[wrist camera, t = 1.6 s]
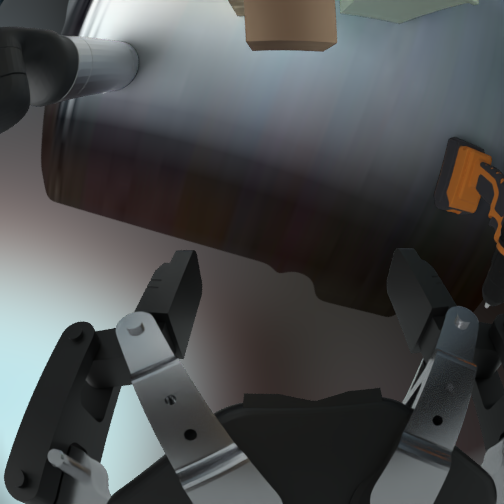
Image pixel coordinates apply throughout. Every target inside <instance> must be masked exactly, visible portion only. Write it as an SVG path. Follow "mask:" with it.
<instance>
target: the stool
mask: <svg viewBox="0 0 504 504" xmlns="http://www.w3.org/2000/svg"><path fill="white" fill-rule="evenodd" d="M228 1H229V3H230V4H231V6H232V8H233V9H234V11H235V13H236V14H237V16H245V13H244V0H228Z"/></svg>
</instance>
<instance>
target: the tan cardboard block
mask: <svg viewBox="0 0 504 504" xmlns="http://www.w3.org/2000/svg"><path fill="white" fill-rule="evenodd" d="M244 13H245V32H246V42H247V44H248V45H249V47H250V48H251V49H252V51H260V50H302V51H322V52H323V51H325V50H326V49H328V48H330V47H331V46H333V45H335V44H336V43H337V29H336V12H335V0H244Z"/></svg>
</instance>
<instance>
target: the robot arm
mask: <svg viewBox="0 0 504 504" xmlns="http://www.w3.org/2000/svg"><path fill="white" fill-rule="evenodd" d="M138 62H139V60H138V55H137V52H136V50H135V49H134V48H133V47H132V46H131V45H130V44H128V43H125V42H120V41H113V40H106V39H98V38H89V37H78V36H60V35H59V34H57V33H56V32H54V31H51V30H46V29H35V28H25V27H0V134H1V133H3V132H4V131H6V130H8V129H9V128H11V127H12V126H14V125H15V124H16V123H18V122H19V121H20V120H21V119H22V118H23V117H24V116H25V114H26V113H27V111H28V109H29V106H30V105H31V106H36V107H41V106H46V105H50V104H53V103H57V102H61V101H65V100H69V99H73V98H78V97H83V96H88V95H93V94H99V93H105V92H111V91H116V90H120V89H122V88H124V87H125V86H127V85H128V84H129V83H130V82H131V81H132V80H133V78H134V77H135V75H136V72H137V69H138ZM387 292H388V295H389V297H390V300H391V302H392V305H393V307H394V310H395V312H396V315H397V317H398V320H399V322H400V325H401V328H402V330H403V333H404V336H405V338H406V341H407V344H408V347H409V350H410V352H411V353H418V352H421V353H422V355H423V360H422V362H421V364H420V366H419V368H418V371H417V373H416V375H415V378H414V380H413V382H412V384H411V386H410V389H409V391H408V393H407V395H406V397H405V399H404V401H403V402H402V403H401V402H399V401H396V400H393V399H389V398H384V397H382V395H381V390H380V388H375V389H366V390H357V391H348V392H345V393H342V394H338V395H335V396H332V397H328V398H325V399H322V400H318V401H310V400H305V399H300V398H294V397H290V396H285V395H280V394H244V401H243V403H239V404H235V405H232V406H229V407H226V408H224V409H221V410H219V411H218V412H216V413H213V412H212V410H211V409H210V408H209V406H208V405H207V403H206V402H205V400H204V399H203V397H202V396H201V394H200V393H199V391H198V389H197V388H196V386H195V385H194V383H193V381H192V380H191V378H190V377H189V375H188V373H187V372H186V370H185V369H184V367H183V365H182V363H181V362H180V360H179V359H184V356H185V352H186V348H187V345H188V341H189V338H190V334H191V331H192V327H193V323H194V320H195V317H196V313H197V309H198V306H199V302H200V299H201V295H202V280H201V275H200V270H199V264H198V259H197V254H196V251H194V250H183V251H176V252H175V254H174V256H173V258H172V260H171V262H170V263H164V264H162V265H161V266H160V267H159V268H158V269H157V270H156V271H155V272H154V274H153V276H152V278H151V281H150V282H149V284H148V286H147V288H146V290H145V292H144V294H143V296H142V298H141V300H140V302H139V304H138V306H137V308H136V310H135V312H133V313H131V314H128V315H126V316H125V317H123V318H122V319H121V320H120V321H119V322H118V324H117V326H116V328H113V329H108V330H102V331H95V330H94V328H93V326H92V325H91V324H90V323H88V322H77V323H74V324H72V325H70V326H69V327H68V328H66V329H65V331H64V332H63V333H62V335H61V337H60V339H59V341H58V343H57V345H56V346H55V349H54V350H53V352H52V354H51V356H50V358H49V361H48V362H47V365H46V366H45V369H44V371H43V373H42V375H41V377H40V379H39V381H38V384H37V386H36V388H35V390H34V393H33V395H32V397H31V399H30V402H29V405H28V407H27V409H26V411H25V414H24V416H23V419H22V422H21V424H20V427H19V430H18V432H17V435H16V438H15V441H14V444H13V447H12V450H11V453H10V456H9V459H8V462H7V466H6V469H5V474H4V481H5V485H6V488H7V490H8V492H9V493H10V494H11V495H12V497H14V498H15V499H16V500H19V501H21V502H23V503H25V504H504V388H503V385H502V382H501V380H500V377H499V374H498V372H497V369H498V368H499V366H500V365H501V364H502V365H503V368H504V314H500V315H498V316H497V317H496V319H495V320H494V322H493V324H488V323H482V322H478V319H477V317H476V316H475V315H474V314H473V313H472V312H471V311H470V310H468V309H466V308H464V307H460V306H456V304H455V302H454V301H453V299H452V297H451V296H450V294H449V292H448V291H447V289H446V287H445V286H444V284H442V281H441V279H440V278H439V277H438V275H437V273H436V271H435V270H434V268H433V267H432V266H431V265H429V264H428V263H427V262H426V261H424V260H421V259H420V257H419V256H418V254H417V253H416V251H415V250H414V249H413V248H397V249H396V250H395V251H394V254H393V259H392V263H391V267H390V271H389V275H388V278H387ZM131 384H133V386H134V389H135V391H136V394H137V396H138V398H139V400H140V403H141V405H142V407H143V409H144V412H145V414H146V416H147V418H148V420H149V422H150V424H151V426H152V428H153V430H154V433H155V435H156V437H157V439H158V440H159V442H160V444H161V446H162V448H163V450H164V452H165V455H164V456H163V457H161V458H160V459H159V460H158V461H156V462H155V463H154V464H153V465H151V466H150V467H149V468H147V469H146V470H145V471H144V472H142V473H141V474H140V475H138V476H137V477H136V478H134V480H132V481H130V482H129V483H128V484H126V485H125V486H124V487H122V488H121V489H119V490H118V491H117V492H116V493H114V494H113V495H112V496H111V494H110V492H109V489H108V486H109V485H108V474H107V471H106V469H105V468H104V467H103V466H102V465H101V464H100V462H101V458H102V454H103V450H104V446H105V442H106V438H107V434H108V431H109V427H110V423H111V419H112V416H113V412H114V409H115V406H116V402H117V399H118V395H119V392H120V389H121V386H123V385H131ZM471 394H472V398H473V401H474V404H475V408H476V411H477V415H478V419H479V422H480V426H481V431H482V435H483V439H484V444H485V449H486V454H485V457H484V463H483V464H482V465H481V466H480V465H478V464H477V463H476V462H475V461H473V460H472V459H471V458H470V457H469V456H467V455H466V454H465V453H464V452H462V451H461V450H460V449H459V448H458V447H456V446H455V443H456V440H457V437H458V435H459V432H460V429H461V426H462V423H463V420H464V417H465V413H466V410H467V407H468V403H469V399H470V396H471Z"/></svg>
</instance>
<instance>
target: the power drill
mask: <svg viewBox="0 0 504 504" xmlns="http://www.w3.org/2000/svg"><path fill="white" fill-rule="evenodd" d="M491 162H492V158H491V156H489V155H487V154H485V152H484V149H482V148H480V147H478V146H476V145H473V144H471V143H468V142H466V141H463V140H460V139H458V138H455V137H453V138H450V139H449V140H448V145H447V149H446V153H445V157H444V161H443V164H442V168H441V172H440V175H439V179H438V182H437V185H436V189H435V192H434V198H435V205H436V206H437V208H439V209H442V210H447V211H449V212H454V213H457V214H462V215H464V214H471V213H474V212H475V211H476V209H477V206H478V203H479V200H480V197H482V198H483V199H484V200H485V201H486V202H487V203H488V204H489V205H490V207H491V210H490V212H489V218H491V220H490V222H489V226H491V227H494V229H495V235H494V239H495V241H496V242H497V245H496V248H495V251H494V254H493V257H492V261H491V262H492V265H491V267H490V269H489V271H488V275H487V278H486V280H485V282H484V284H483V286H482V291H483V299H484V301H485V302H486V304H485V307H486V308H488V307H489V306H496V305H499V304H501V303H503V302H504V175H503V174H502V173H501V172H500V171H499V170H498V169H496V168H495V167H493V166H491Z"/></svg>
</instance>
